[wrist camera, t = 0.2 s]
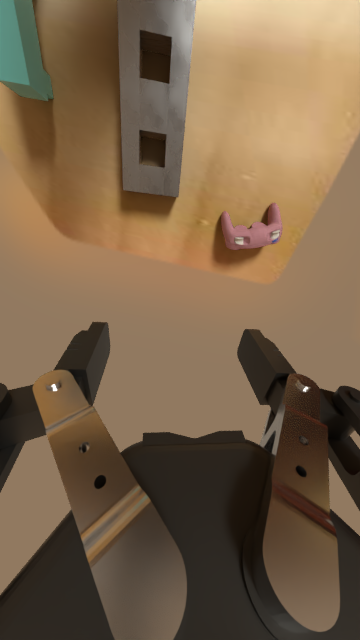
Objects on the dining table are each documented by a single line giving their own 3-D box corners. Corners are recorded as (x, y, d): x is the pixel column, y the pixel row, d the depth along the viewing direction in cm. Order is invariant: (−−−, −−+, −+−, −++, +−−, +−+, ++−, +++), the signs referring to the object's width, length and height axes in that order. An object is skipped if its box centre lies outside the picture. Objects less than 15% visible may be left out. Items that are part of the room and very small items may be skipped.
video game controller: (217, 233, 38) (227, 258, 34) (219, 209, 34) (230, 235, 30) (269, 224, 37) (284, 248, 34) (277, 199, 34) (295, 223, 30)
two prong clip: (2, -63, 20) (-65, -173, 14) (35, -54, 20) (-17, -158, 14) (34, 106, 26) (-3, 79, 20) (59, 110, 26) (29, 85, 20)
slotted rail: (122, 0, 22) (116, -30, 19) (192, 18, 23) (196, -9, 20) (126, 190, 32) (123, 190, 29) (176, 197, 33) (178, 197, 30)
